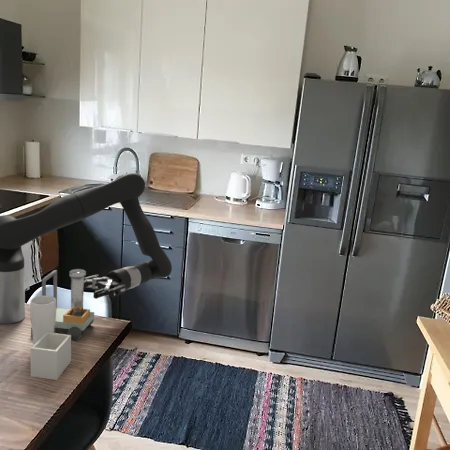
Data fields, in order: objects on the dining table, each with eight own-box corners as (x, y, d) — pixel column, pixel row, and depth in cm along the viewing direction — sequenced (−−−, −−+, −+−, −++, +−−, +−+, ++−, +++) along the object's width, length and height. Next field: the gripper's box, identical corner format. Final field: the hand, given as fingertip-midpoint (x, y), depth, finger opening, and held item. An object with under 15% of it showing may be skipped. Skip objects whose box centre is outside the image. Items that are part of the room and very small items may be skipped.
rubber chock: (31, 336, 139) (31, 327, 138) (34, 333, 141) (34, 324, 140) (40, 337, 139) (40, 328, 138) (43, 334, 141) (43, 325, 140)
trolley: (39, 336, 139) (39, 280, 135) (56, 320, 150) (56, 268, 146) (81, 341, 138) (82, 285, 134) (95, 325, 149) (96, 273, 145)
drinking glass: (47, 356, 129) (47, 306, 125) (25, 352, 130) (24, 302, 126) (60, 345, 135) (61, 297, 132) (39, 341, 136) (39, 293, 133)
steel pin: (66, 320, 140) (67, 273, 136) (72, 314, 144) (73, 268, 140) (81, 322, 140) (82, 275, 136) (86, 315, 144) (88, 270, 140)
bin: (30, 376, 119) (30, 348, 117) (46, 358, 128) (46, 332, 126) (56, 379, 118) (56, 351, 117) (70, 361, 127) (71, 335, 125)
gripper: (110, 263, 159) (70, 273, 145) (140, 274, 151) (101, 286, 138) (109, 283, 160) (70, 296, 147) (138, 295, 153) (100, 309, 140)
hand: (85, 291), depth 142 cm, fingers open, 8 cm apart
